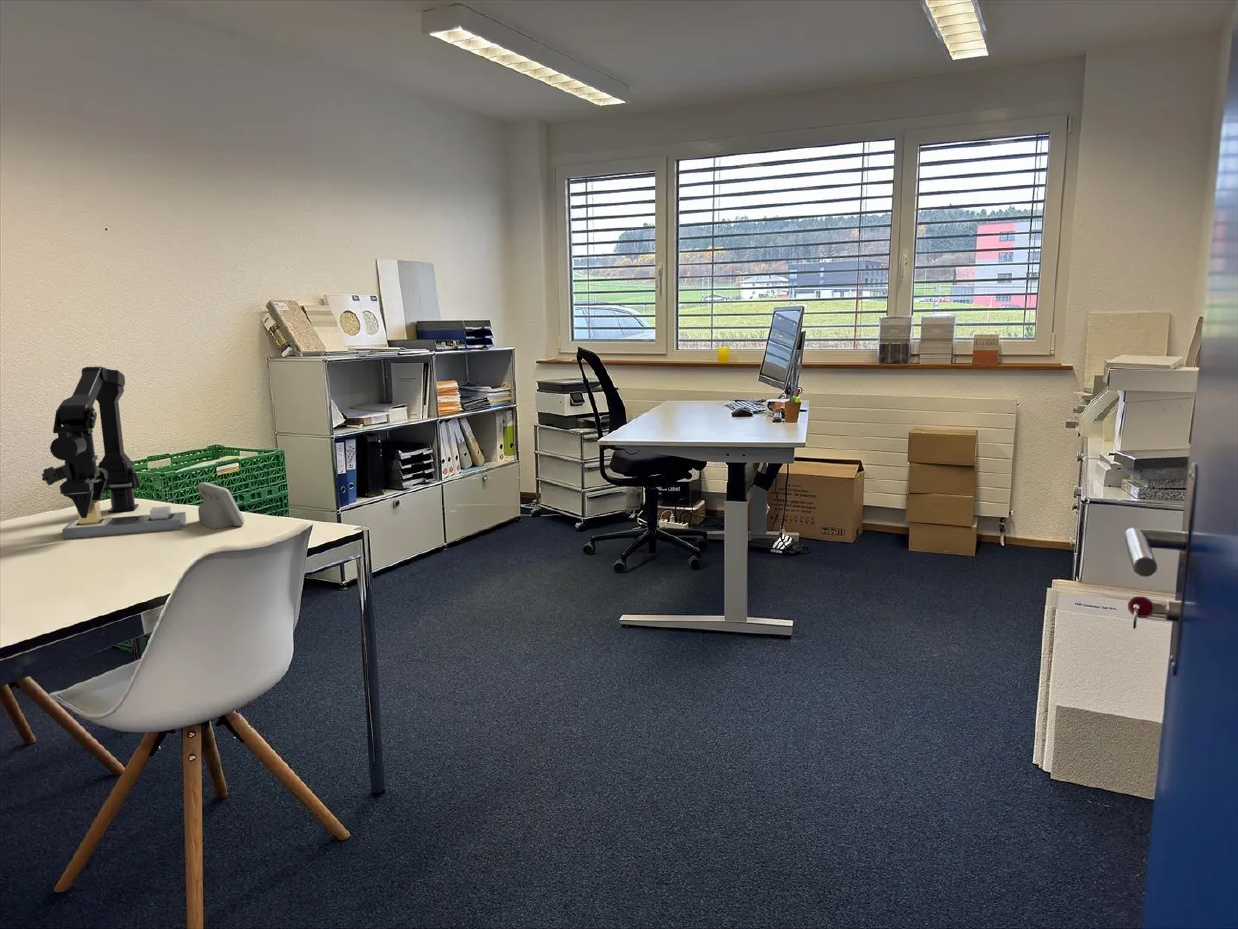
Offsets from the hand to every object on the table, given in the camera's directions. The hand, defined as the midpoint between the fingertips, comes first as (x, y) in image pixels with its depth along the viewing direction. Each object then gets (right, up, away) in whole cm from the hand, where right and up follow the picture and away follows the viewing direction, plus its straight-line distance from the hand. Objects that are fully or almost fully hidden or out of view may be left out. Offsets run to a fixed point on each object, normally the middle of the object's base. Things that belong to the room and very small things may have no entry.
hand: (89, 513), depth 205 cm
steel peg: (+15, -4, +6) cm, 17 cm away
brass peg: (0, -5, +1) cm, 5 cm away
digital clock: (+29, -3, +10) cm, 31 cm away
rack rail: (+8, -4, +4) cm, 9 cm away
